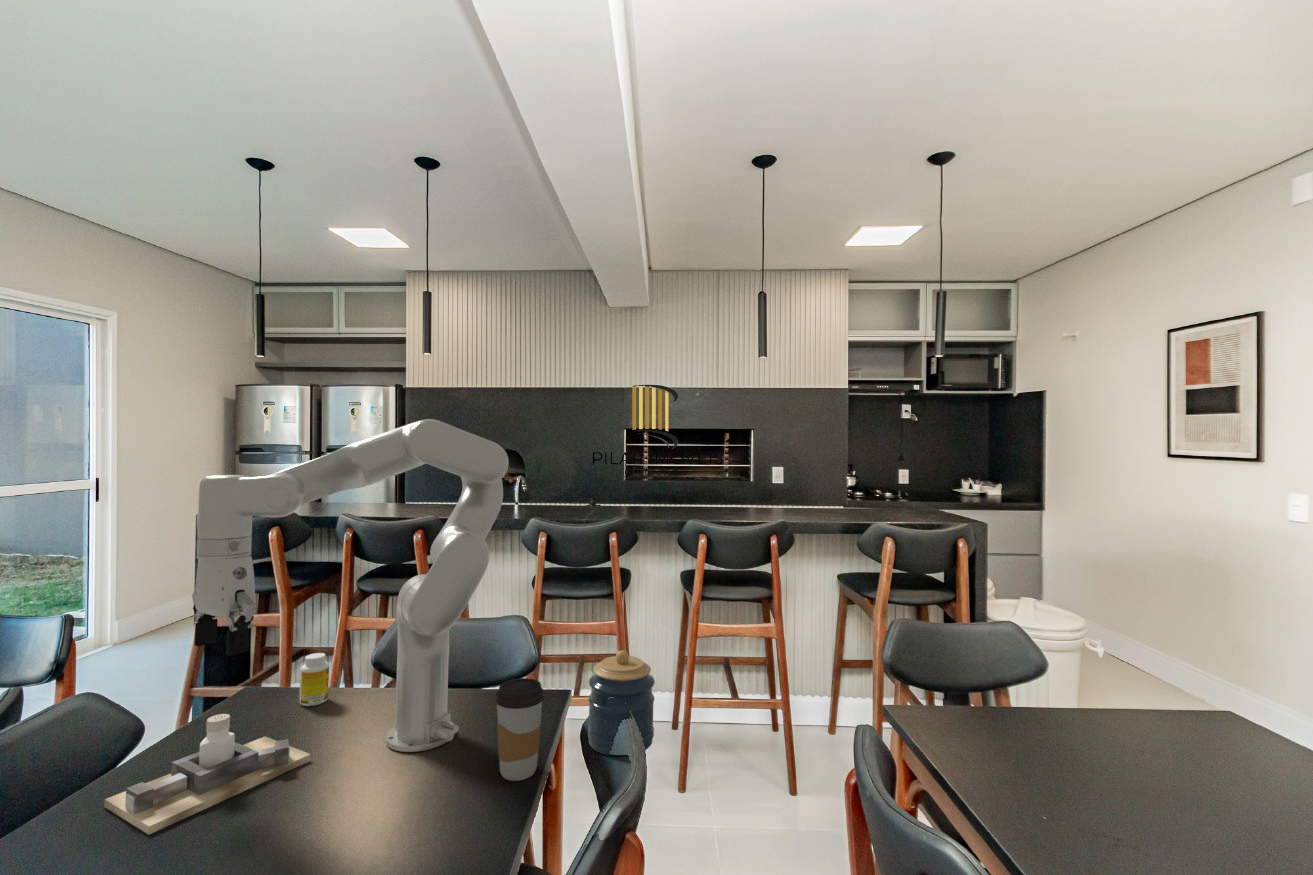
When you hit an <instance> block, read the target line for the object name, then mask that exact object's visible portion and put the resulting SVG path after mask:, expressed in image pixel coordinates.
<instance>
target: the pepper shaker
mask: <svg viewBox="0 0 1313 875" xmlns="http://www.w3.org/2000/svg"><path fill="white" fill-rule="evenodd" d="M230 723H231V715H230V714H229V713H220V714H215V715H211V716H210V717H208V718H207V720H206V725H205V726H206V729H205V733H206V737H204V738H203V739H202V741H201V742H200V743H199V751H198V752H199V766H201V767H203V768H205V769H207V768H210V767H212V766H214V765H217V764H219V763H222V762H224V761H227V760H229V759H232V758H234V745H235V740H236V739H235V738H236V734H235V733H234V732H231V731H230V728H231V724H230Z"/></svg>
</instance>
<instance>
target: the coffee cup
mask: <svg viewBox="0 0 1313 875" xmlns="http://www.w3.org/2000/svg"><path fill="white" fill-rule="evenodd" d="M544 699H545V697H544V689H543V688H542V684H541V682H540V680H539V681H538V680H537V679H534V678H527V677H526V678H525V677H522V678H513V679H509V680H506V681H504V682H502V683H501V684H500V685H499V688H498V691H497V692H496V698H495V703H496V713H497V714H496V715H497V725H496V727H497V730H496V731H497V744H498V745H497V749H498V759H499V761H498V762H499V763H498V765H499V773H500V774H501V776H502V778H504V779H505V780H507V781H511V782H512V781H514V782H516V781H522V780H527V779H529V778H531V777H532V776H533V775H534V774H535V772H536V770H537V767H538V756H539V748H540V738H541V726H542V709H543V700H544Z"/></svg>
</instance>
